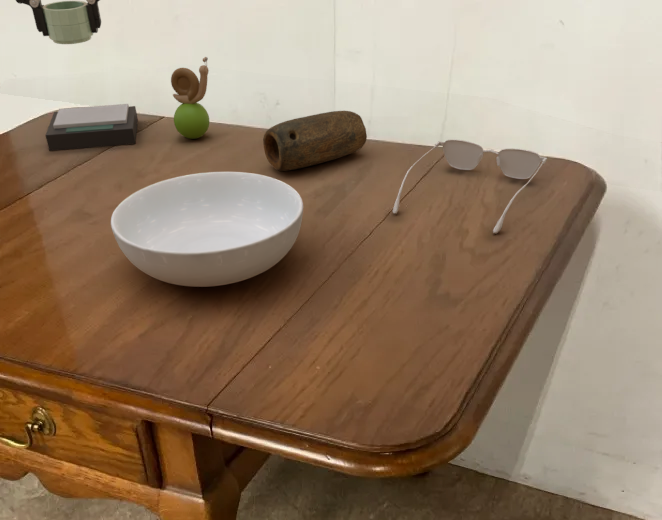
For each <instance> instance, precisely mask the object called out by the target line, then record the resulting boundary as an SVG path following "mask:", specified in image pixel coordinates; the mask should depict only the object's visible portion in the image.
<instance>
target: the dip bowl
mask: <svg viewBox="0 0 662 520" xmlns="http://www.w3.org/2000/svg"><path fill="white" fill-rule="evenodd" d="M87 3H88V2H87V1H85V0H84V1H83V0H61V1H54V2H51V3H47V4H43V5H44V6H43V7H42V10H43V14H44V18H45V22H46V26H47V31H48V35H49V36H48V39H49V40H51V41H53V43H54V44H56V45H57V44H58V45H76V44H82V43H85V42H88V41H90V40H91V39H92V37H93V36H94V34H95V33H92V30H91V25H90V20H89V15H88V10H87Z"/></svg>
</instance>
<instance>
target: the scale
mask: <svg viewBox="0 0 662 520" xmlns="http://www.w3.org/2000/svg"><path fill="white" fill-rule="evenodd" d="M136 107H137V106H136V105H130V106H129V103H120V104H106V105H92V106H79V107H65V108H63V107H62V108H59V109H58V111H53V114H52V117H51V119H50V121H49V125H48V127H47V130H46V132H45V139H46V143H47V146H48V151H61V150H62V151H63V150H64V151H65V150H74V149H75V150H76V149H88V148H89V149H90V148H101V147H112V146H126V145H127V146H128V145H135V144H136V141H137V133H138V124H139V119H138V113H137V108H136Z"/></svg>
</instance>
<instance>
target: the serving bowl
mask: <svg viewBox="0 0 662 520" xmlns="http://www.w3.org/2000/svg"><path fill="white" fill-rule="evenodd" d="M303 215H304V201H303V198H302V196H301V195H300V193H299V192H298V191H297V190H296V189H295V188H294V187H293V186H291V185H289V184H288V183H287V182H284V181H282V180H279V179H276V178H275V177H271V176H268V175H263V174H259V173H253V172H252V173H251V172H245V171H208V172H199V173H191V174H186V175H180V176H176V177H172V178H171V177H170V178H168V179H167V178H166V179H164V180H161V181H158V182H155V183H153V184H150V185H147V186H145V187H143V188H141V189H138V190H136V191H135V192H132V194H130V195H128V196H127V197H126V198H125V199H123V200H122V201H121V202H120V203H119V204H118V205H117V206H116V207H115V209H114V210H113V212H112V214H111V217H110V227H111V231H112V233H113V237H114V239H115V241H116V243H117V245H118V247H119V249H120V251H121V253H123V255H124V256H125V258H126V259H127V260H128V261H129V262H130V263H131V264H132V265H133V266H134V267H136V268H137V269H138V270H139V271H140V272H142V273H144V274H146V275H148V276H150V277H151V278H153V279H156V280H159V281H161V282H164V283H168V284H172V285H176V286H182V287H183V286H184V287H197V288H199V287H201V288H203V287H207V288H208V287H219V286H225V285H231V284H235V283H239V282H243V281H245V280H246V281H247V280H249V279H252V278H254V277H257V276H258V275H260V274H262V273H265V272H266V271H268V270H270V269H271V268H273V267H274V266H275V265H277V264H278V263H279V262H281V260H283V259H284V258H285V256H286V255H288V253H289V252H290V251H291V249H292V247H293V246H294V245H295V243H296V242H297V239H298V236H299V234H300V231H301V227H302V222H303Z"/></svg>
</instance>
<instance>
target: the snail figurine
mask: <svg viewBox="0 0 662 520" xmlns="http://www.w3.org/2000/svg"><path fill="white" fill-rule="evenodd" d="M202 62H203V63H205V64H202V65H200V66H199V68H198V72H199V77H198V76H197V74H196V73H195V72H194V71H193V70H191V69H190V68H187V67H179V68H176V69H175V70H174V71H173V72H172V73H171V76H170V84H171V87H172V89H173V91H174V92H175V93H173V94H172V97H173V98H174V99H175V101H177V102H178V103H179V104H180V105H179V106H178V107H176V109H175V111H174V114H173V124H174V127H175V129H176V131H177V132H178V133H179V134H180V135H181V136H183V137H184V138H187V139H189V140H197V139H199V138H202V137H203V136H204V135H205V134H206V133H207V132H208V129H209V127H210V116H209V115H210V114H209V113H208V111H207V109H206V108H205V107H204V106H203V105H202V104H201V103H199V102H201V101H202V100H203V99H204V97H205V95H206V92H207V88H208V74H209V67H208V56H204V57H203V58H202Z"/></svg>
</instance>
